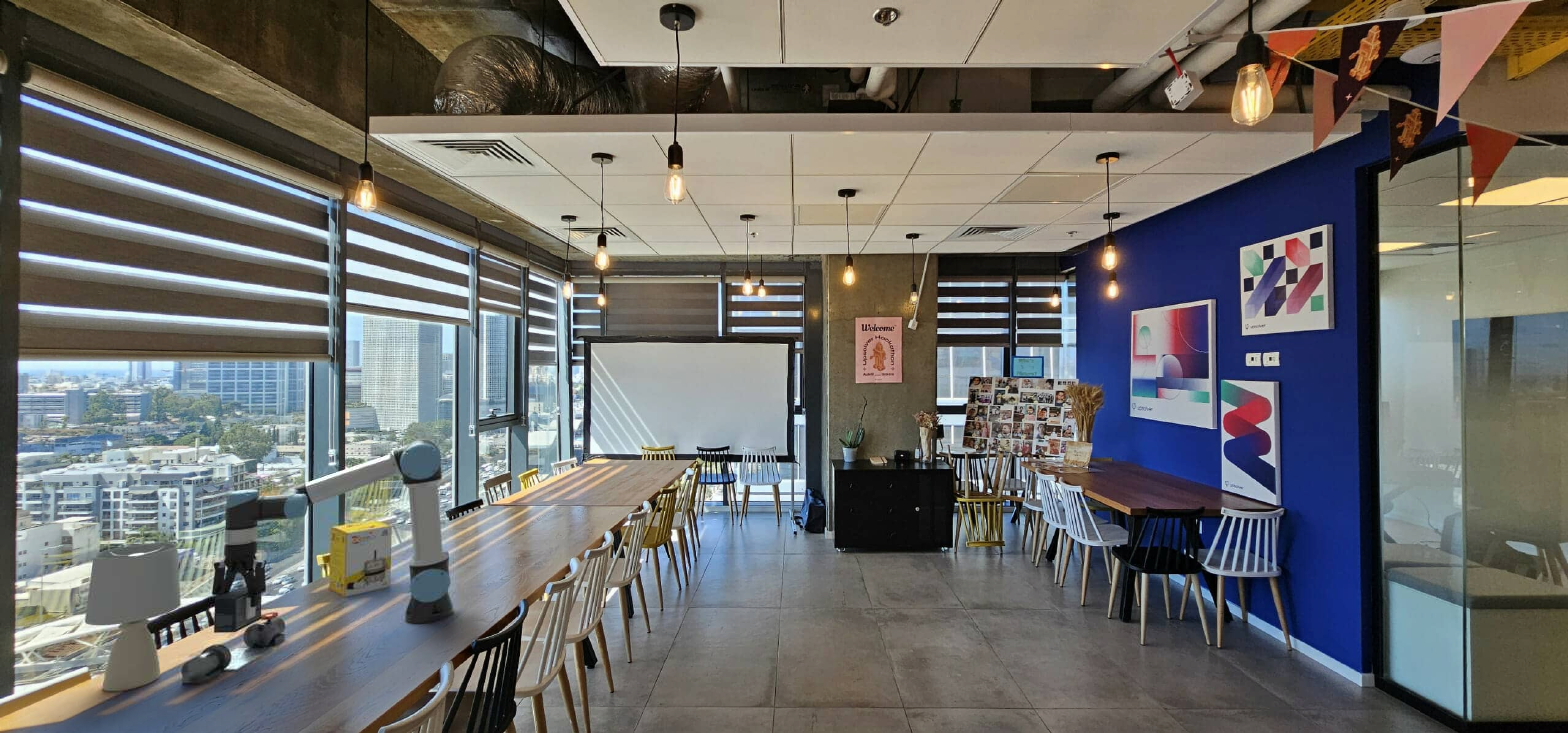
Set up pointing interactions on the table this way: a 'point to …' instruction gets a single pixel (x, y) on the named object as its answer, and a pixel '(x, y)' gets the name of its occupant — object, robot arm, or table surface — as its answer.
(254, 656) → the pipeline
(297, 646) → the table surface
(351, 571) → the packaging box
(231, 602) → the small box
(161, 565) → the lamp
